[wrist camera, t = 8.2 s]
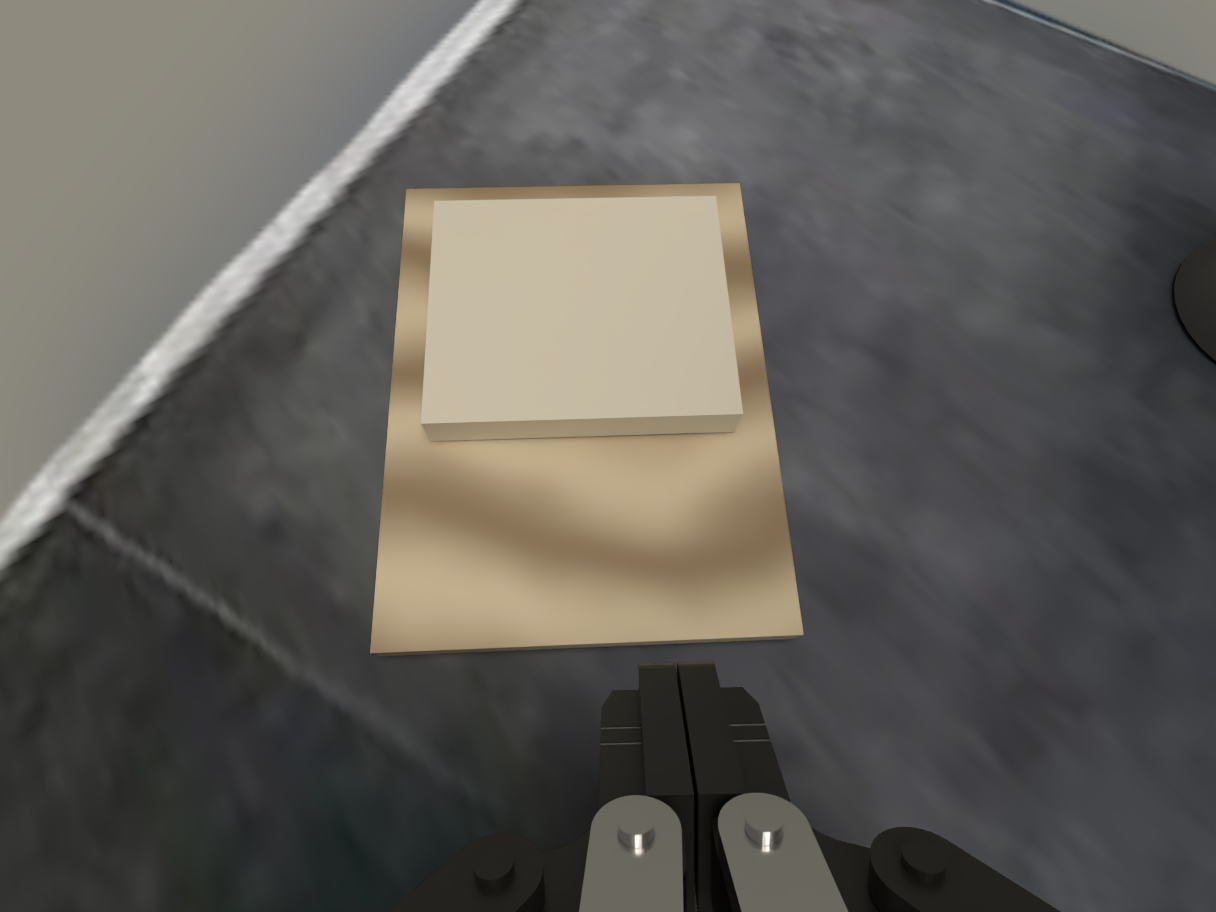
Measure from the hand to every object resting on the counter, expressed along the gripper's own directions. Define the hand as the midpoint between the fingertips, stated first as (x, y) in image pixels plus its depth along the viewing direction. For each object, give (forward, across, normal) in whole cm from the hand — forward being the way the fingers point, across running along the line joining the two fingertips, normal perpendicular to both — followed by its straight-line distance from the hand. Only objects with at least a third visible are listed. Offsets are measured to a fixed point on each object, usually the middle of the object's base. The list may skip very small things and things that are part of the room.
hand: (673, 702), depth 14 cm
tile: (+18, +3, -2) cm, 18 cm away
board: (+22, +3, -2) cm, 22 cm away
